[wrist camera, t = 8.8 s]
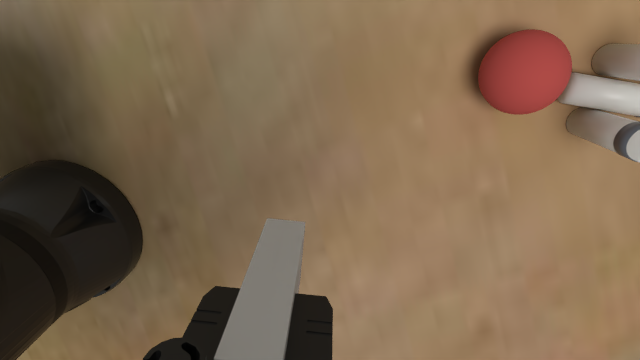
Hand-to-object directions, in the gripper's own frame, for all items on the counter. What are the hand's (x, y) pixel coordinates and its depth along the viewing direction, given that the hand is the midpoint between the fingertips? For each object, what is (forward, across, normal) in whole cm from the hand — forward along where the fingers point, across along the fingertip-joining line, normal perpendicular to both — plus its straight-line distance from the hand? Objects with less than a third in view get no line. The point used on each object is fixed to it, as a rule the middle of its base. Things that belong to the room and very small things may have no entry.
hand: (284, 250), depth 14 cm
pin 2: (+19, -23, -4) cm, 30 cm away
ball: (+16, -15, -7) cm, 23 cm away
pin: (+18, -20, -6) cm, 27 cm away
